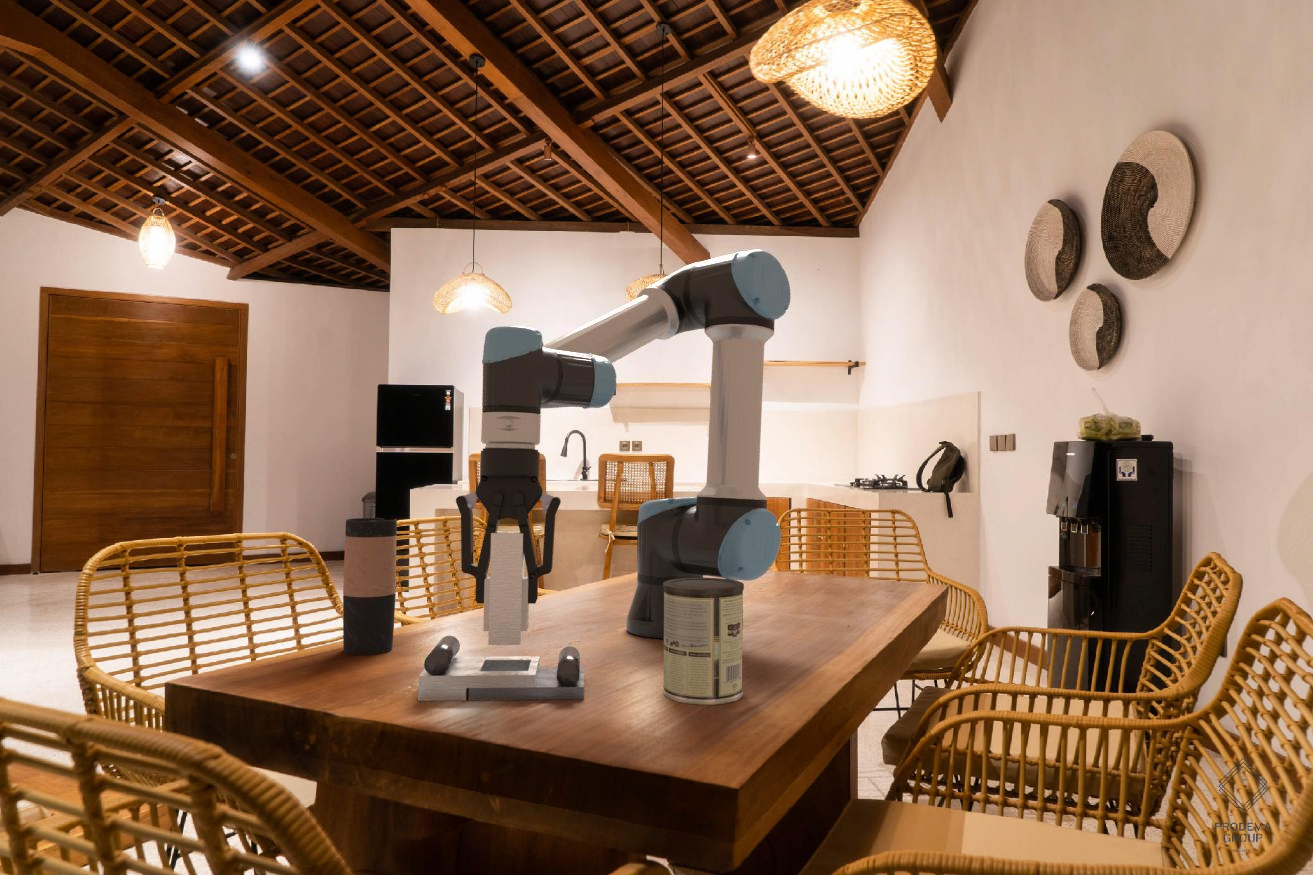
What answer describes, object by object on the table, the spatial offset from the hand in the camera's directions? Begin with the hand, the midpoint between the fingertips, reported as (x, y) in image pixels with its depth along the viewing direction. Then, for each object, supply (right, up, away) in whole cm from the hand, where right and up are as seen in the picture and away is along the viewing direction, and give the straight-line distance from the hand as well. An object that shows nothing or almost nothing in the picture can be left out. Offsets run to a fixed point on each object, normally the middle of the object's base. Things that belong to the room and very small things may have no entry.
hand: (506, 628), depth 106 cm
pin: (0, -2, 0) cm, 2 cm away
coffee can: (+25, -8, -1) cm, 26 cm away
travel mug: (-25, -8, +21) cm, 33 cm away
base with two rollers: (0, -8, 0) cm, 8 cm away
